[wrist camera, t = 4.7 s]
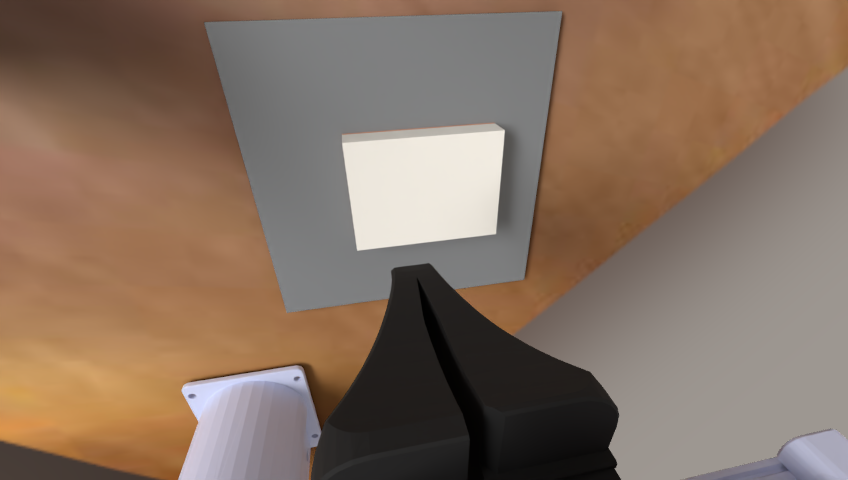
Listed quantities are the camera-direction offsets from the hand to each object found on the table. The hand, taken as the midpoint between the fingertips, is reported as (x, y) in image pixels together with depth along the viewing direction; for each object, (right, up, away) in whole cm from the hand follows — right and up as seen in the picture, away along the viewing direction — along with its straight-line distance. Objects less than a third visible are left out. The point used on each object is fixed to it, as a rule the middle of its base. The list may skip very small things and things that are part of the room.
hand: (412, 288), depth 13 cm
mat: (-1, +5, +8) cm, 10 cm away
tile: (0, +4, +7) cm, 9 cm away
